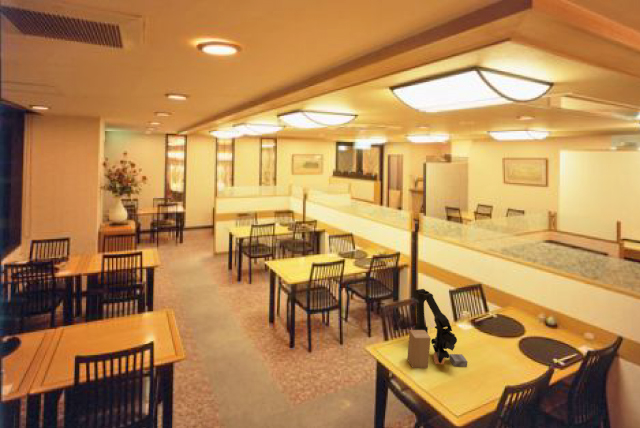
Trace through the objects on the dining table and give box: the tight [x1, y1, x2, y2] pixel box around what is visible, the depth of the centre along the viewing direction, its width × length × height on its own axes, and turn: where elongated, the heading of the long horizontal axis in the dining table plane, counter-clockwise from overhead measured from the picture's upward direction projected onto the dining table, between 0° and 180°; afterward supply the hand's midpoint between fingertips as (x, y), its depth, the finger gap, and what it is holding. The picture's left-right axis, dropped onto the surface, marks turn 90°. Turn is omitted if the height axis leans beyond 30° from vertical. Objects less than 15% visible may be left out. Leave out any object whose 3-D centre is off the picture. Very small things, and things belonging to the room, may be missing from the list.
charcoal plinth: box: [448, 353, 468, 368], centre depth 227 cm, size 8×8×4 cm
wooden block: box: [406, 329, 432, 369], centre depth 223 cm, size 10×10×20 cm
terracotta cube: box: [433, 351, 445, 365], centre depth 227 cm, size 5×5×5 cm
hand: (438, 360), depth 227 cm, fingers closed on terracotta cube, 5 cm apart
